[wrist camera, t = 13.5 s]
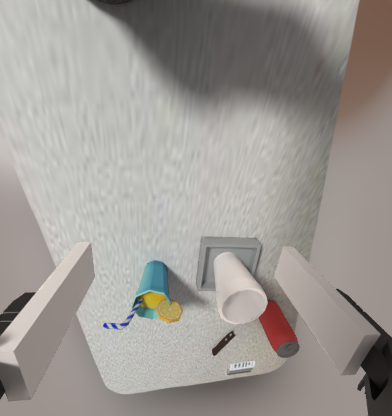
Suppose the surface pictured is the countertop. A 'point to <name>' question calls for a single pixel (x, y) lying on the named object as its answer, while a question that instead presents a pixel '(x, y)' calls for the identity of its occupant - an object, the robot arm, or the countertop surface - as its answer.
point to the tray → (215, 246)
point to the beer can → (278, 331)
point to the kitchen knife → (226, 339)
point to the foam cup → (237, 291)
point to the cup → (152, 298)
